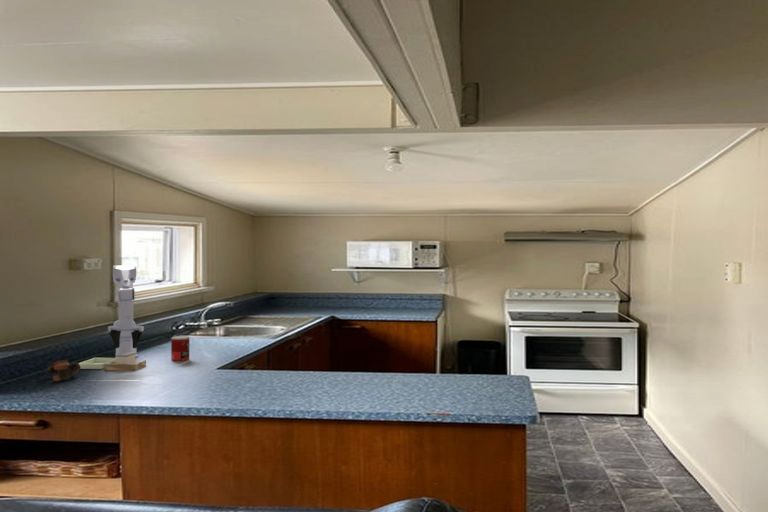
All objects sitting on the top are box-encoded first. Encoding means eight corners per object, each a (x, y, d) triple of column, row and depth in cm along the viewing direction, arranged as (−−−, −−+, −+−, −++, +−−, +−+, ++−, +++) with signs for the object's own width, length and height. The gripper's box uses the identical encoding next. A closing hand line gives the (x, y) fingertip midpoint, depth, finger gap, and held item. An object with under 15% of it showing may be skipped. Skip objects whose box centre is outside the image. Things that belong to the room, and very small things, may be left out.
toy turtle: (44, 384, 197) (41, 364, 200) (52, 389, 205) (49, 370, 208) (79, 373, 201) (75, 354, 204) (86, 379, 210) (82, 360, 212)
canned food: (183, 362, 234) (183, 338, 234) (167, 362, 235) (167, 338, 235) (192, 359, 242) (192, 336, 242) (177, 358, 243) (177, 335, 243)
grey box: (125, 365, 225) (125, 352, 225) (136, 365, 225) (136, 352, 225) (116, 369, 217) (116, 355, 217) (126, 369, 217) (126, 355, 217)
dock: (116, 366, 226) (116, 359, 226) (146, 366, 225) (146, 360, 225) (104, 371, 216) (104, 364, 216) (134, 371, 216) (134, 364, 216)
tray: (94, 363, 232) (94, 357, 232) (118, 363, 232) (118, 358, 232) (76, 369, 219) (76, 363, 219) (102, 370, 219) (102, 364, 219)
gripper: (104, 317, 217) (104, 349, 217) (138, 317, 217) (137, 349, 217) (113, 315, 224) (113, 346, 224) (146, 315, 224) (146, 346, 224)
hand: (126, 347), depth 221 cm, fingers open, 7 cm apart
